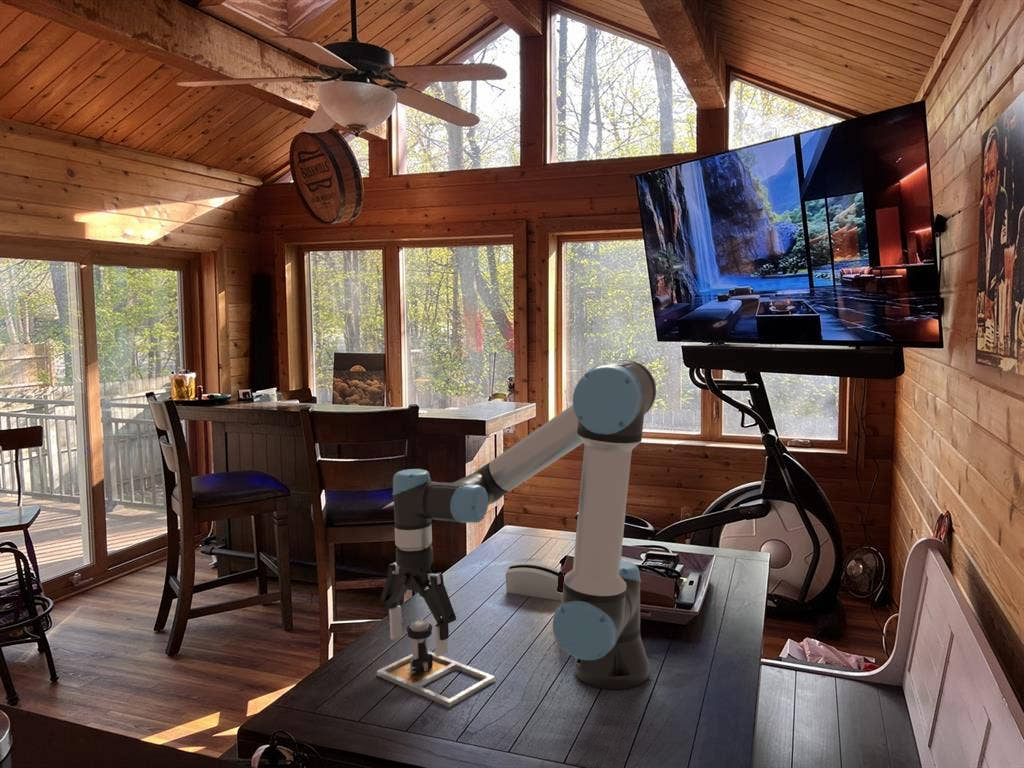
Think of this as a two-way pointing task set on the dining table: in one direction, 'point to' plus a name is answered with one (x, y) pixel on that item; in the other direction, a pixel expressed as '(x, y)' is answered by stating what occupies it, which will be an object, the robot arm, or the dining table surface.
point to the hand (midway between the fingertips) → (418, 645)
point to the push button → (420, 646)
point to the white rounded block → (533, 580)
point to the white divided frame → (433, 678)
